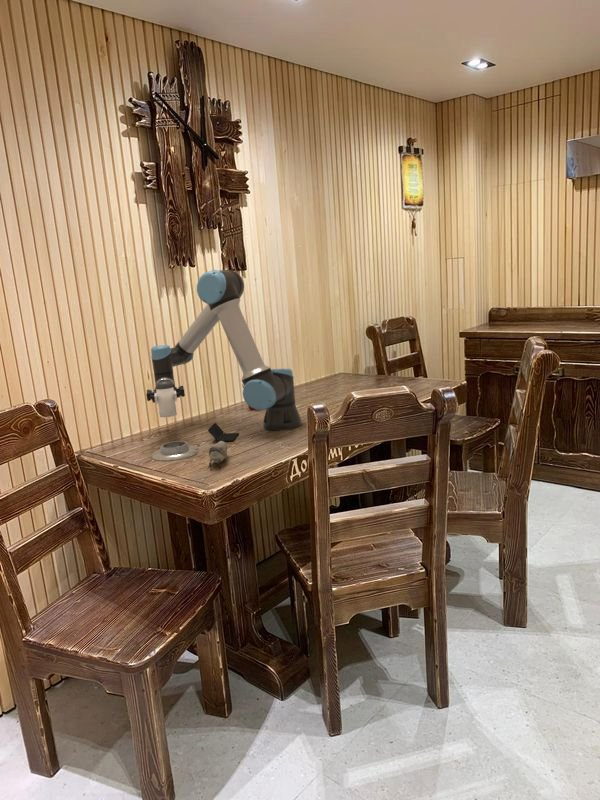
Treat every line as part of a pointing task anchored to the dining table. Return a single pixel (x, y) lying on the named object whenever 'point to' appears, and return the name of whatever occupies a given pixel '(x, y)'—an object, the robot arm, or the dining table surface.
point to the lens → (166, 398)
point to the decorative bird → (218, 453)
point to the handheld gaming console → (222, 434)
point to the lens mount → (174, 451)
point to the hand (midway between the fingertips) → (165, 398)
